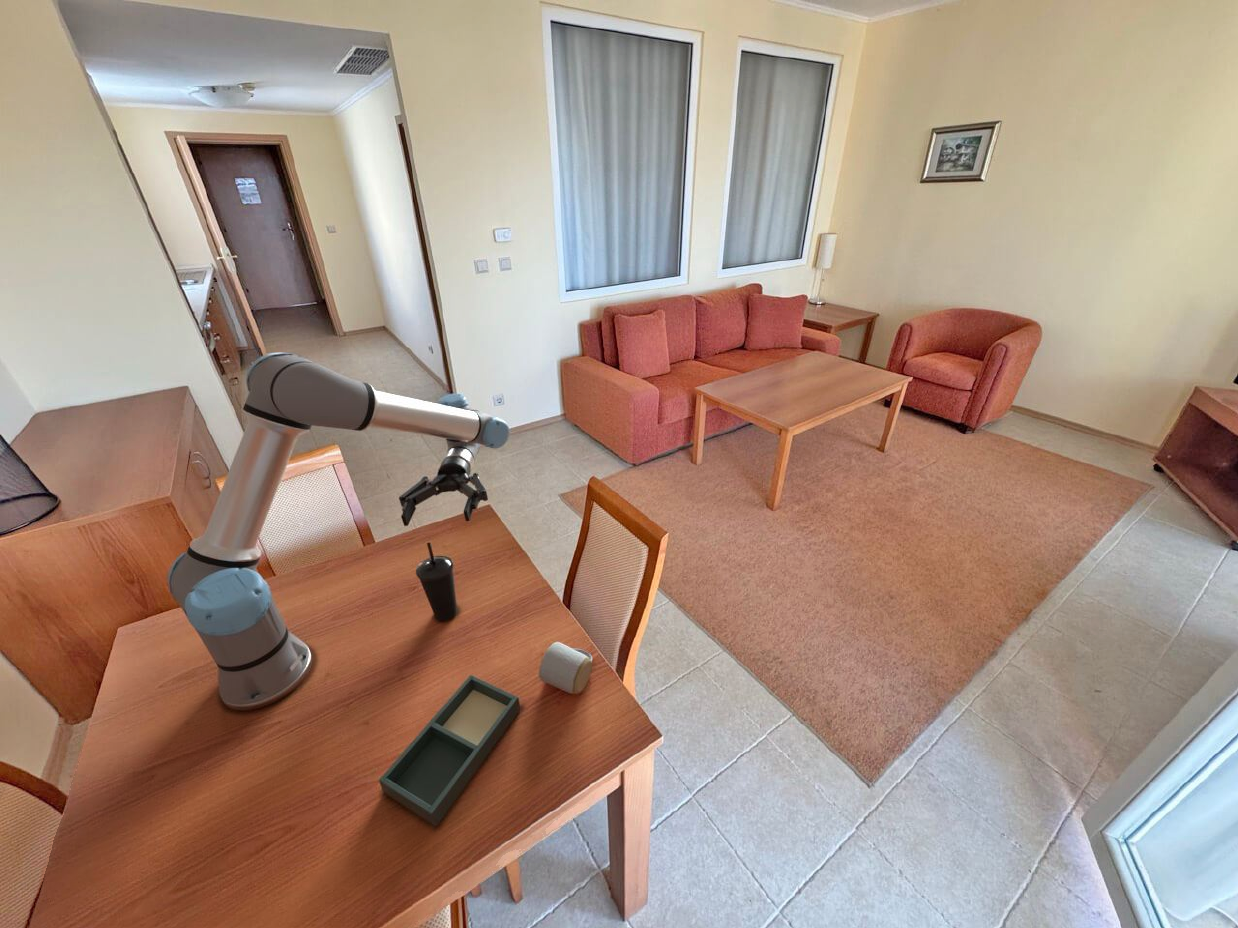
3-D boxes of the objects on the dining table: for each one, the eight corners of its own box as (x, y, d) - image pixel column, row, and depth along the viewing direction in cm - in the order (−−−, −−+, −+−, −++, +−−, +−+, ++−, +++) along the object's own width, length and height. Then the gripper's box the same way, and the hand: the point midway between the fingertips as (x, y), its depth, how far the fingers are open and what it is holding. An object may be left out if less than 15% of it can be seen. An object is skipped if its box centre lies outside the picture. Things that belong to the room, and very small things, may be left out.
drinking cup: (428, 605, 115) (410, 536, 105) (462, 598, 117) (447, 529, 107) (428, 629, 108) (408, 558, 99) (464, 621, 110) (448, 550, 101)
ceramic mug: (576, 704, 92) (574, 676, 89) (539, 688, 95) (536, 661, 92) (602, 662, 101) (601, 635, 97) (567, 648, 104) (565, 622, 100)
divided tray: (383, 792, 79) (378, 780, 77) (473, 686, 96) (470, 674, 94) (436, 826, 75) (431, 813, 73) (520, 709, 92) (518, 696, 90)
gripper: (506, 477, 130) (495, 527, 112) (411, 484, 129) (383, 536, 111) (502, 452, 126) (488, 500, 108) (403, 459, 125) (373, 509, 107)
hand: (435, 518), depth 109 cm, fingers open, 13 cm apart
